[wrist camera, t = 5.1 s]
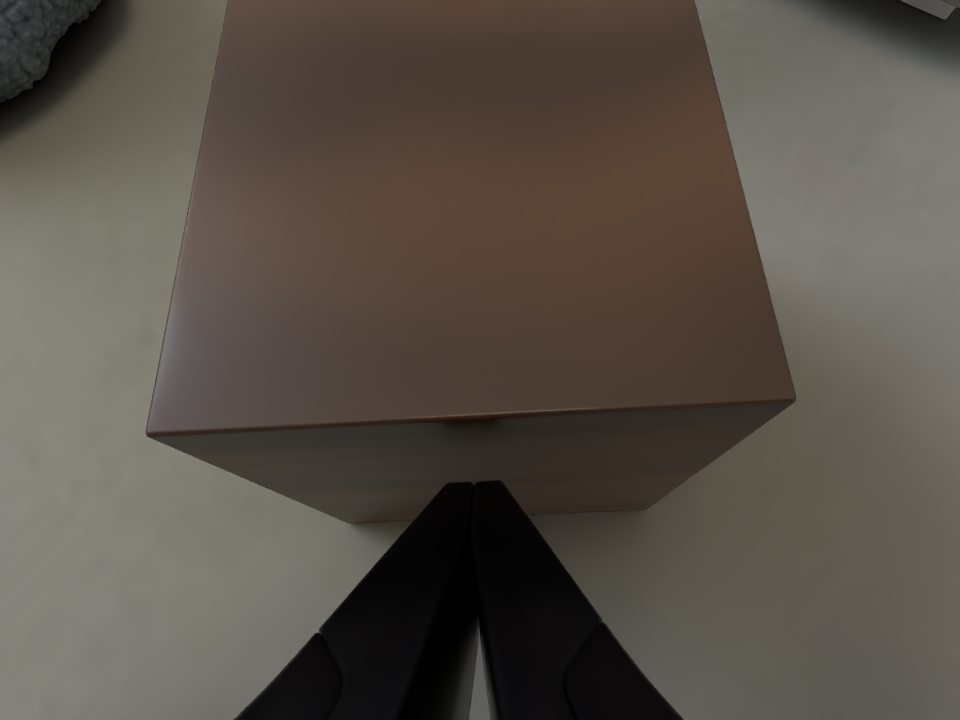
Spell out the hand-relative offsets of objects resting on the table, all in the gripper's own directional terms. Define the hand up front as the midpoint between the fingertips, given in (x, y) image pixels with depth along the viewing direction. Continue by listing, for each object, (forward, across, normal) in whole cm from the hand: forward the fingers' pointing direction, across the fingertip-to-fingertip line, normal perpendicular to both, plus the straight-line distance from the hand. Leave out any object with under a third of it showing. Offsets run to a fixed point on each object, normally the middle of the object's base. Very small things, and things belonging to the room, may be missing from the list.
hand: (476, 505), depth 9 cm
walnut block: (+8, 0, +2) cm, 8 cm away
